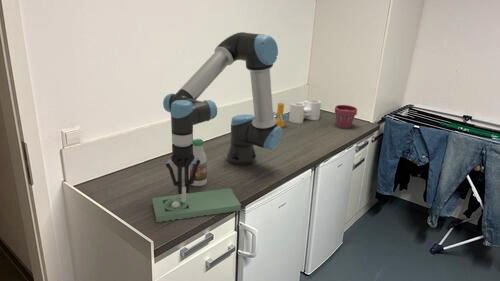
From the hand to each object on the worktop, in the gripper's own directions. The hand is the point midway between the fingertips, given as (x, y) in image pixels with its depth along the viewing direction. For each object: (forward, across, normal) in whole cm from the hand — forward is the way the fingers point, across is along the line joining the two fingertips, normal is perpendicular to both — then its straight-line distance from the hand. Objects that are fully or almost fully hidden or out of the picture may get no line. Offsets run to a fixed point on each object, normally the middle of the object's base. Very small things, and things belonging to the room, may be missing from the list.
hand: (183, 200), depth 146 cm
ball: (+2, +3, 0) cm, 3 cm away
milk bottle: (+4, -10, -20) cm, 23 cm away
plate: (+4, -5, 0) cm, 6 cm away
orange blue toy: (+4, -78, -85) cm, 115 cm away
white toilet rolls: (+4, -102, -95) cm, 139 cm away
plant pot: (+4, -121, -76) cm, 143 cm away
